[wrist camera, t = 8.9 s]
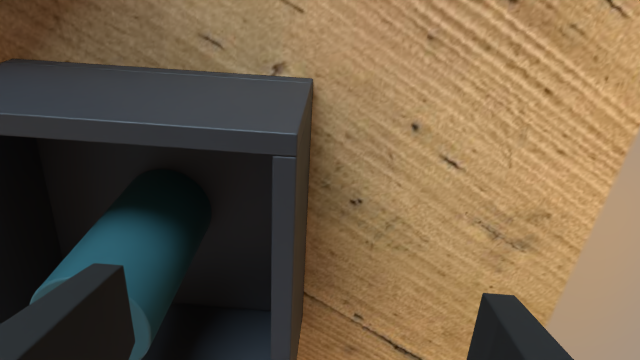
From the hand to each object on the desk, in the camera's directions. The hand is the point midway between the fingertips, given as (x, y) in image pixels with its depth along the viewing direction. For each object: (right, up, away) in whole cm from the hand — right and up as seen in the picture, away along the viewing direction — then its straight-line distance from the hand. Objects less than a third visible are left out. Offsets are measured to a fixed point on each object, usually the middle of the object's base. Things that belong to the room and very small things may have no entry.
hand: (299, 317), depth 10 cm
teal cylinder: (-6, +2, +11) cm, 12 cm away
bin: (-6, +2, +11) cm, 13 cm away
